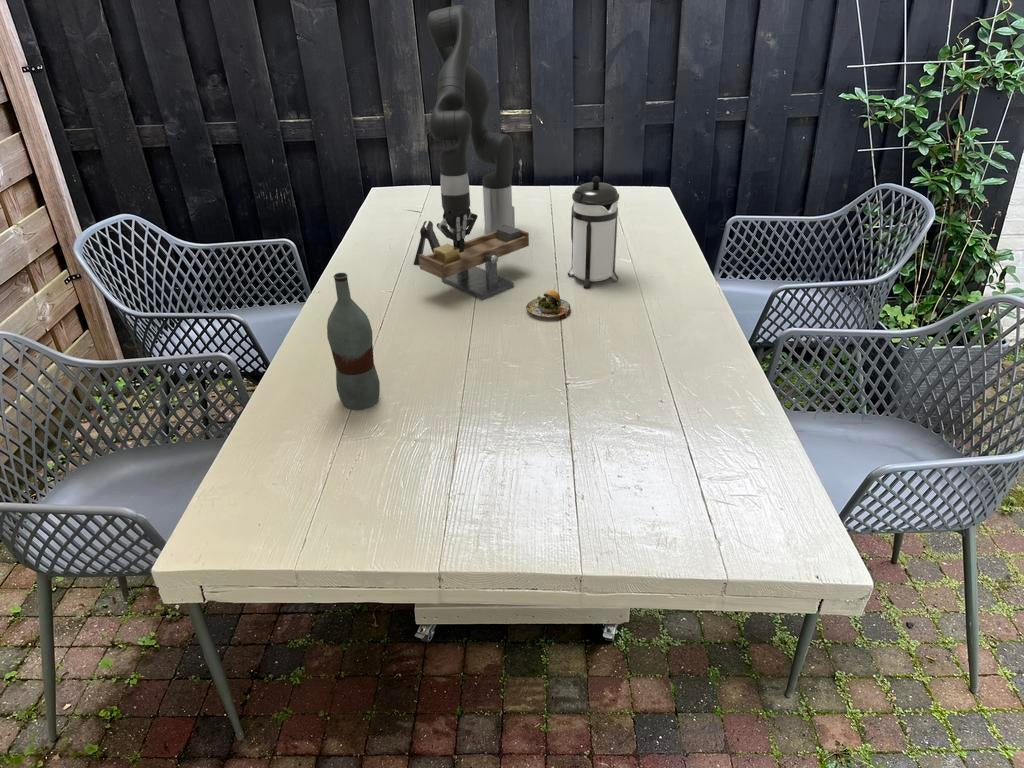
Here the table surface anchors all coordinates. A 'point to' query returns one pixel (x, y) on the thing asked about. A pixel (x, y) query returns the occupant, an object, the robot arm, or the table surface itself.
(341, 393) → the bottle
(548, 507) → the table surface
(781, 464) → the table surface
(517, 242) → the beam
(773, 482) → the table surface
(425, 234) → the phone stand
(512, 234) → the block
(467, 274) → the pivot stand
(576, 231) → the coffee press
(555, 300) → the burger
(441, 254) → the brass block
